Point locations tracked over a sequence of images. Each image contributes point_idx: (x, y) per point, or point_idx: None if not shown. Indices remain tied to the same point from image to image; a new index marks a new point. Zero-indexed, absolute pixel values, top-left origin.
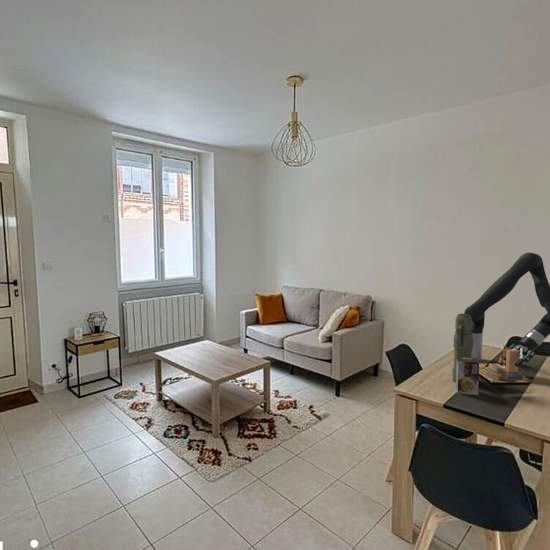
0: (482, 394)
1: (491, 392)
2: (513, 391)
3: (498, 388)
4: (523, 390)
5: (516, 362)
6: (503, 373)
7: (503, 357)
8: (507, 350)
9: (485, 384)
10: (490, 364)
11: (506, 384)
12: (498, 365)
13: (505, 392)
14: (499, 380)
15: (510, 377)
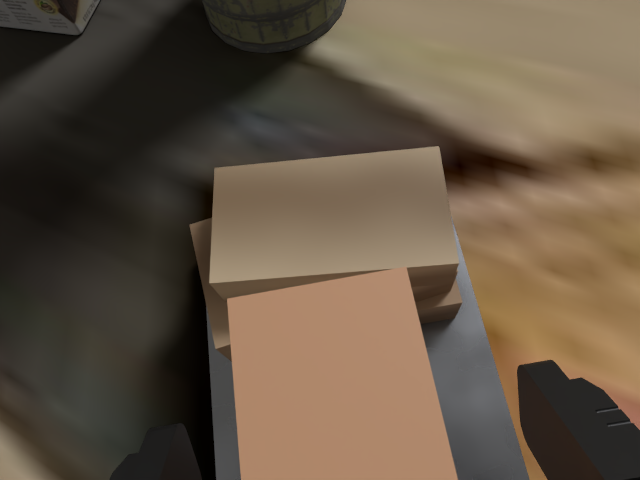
0: (11, 55)
1: (32, 122)
2: (17, 307)
3: (103, 206)
4: (20, 426)
5: (138, 462)
6: (201, 270)
7: (559, 370)
8: (349, 282)
9: (203, 138)
10: (394, 151)
11: (196, 327)
12: (349, 240)
13: (11, 225)
14: None
15: None
